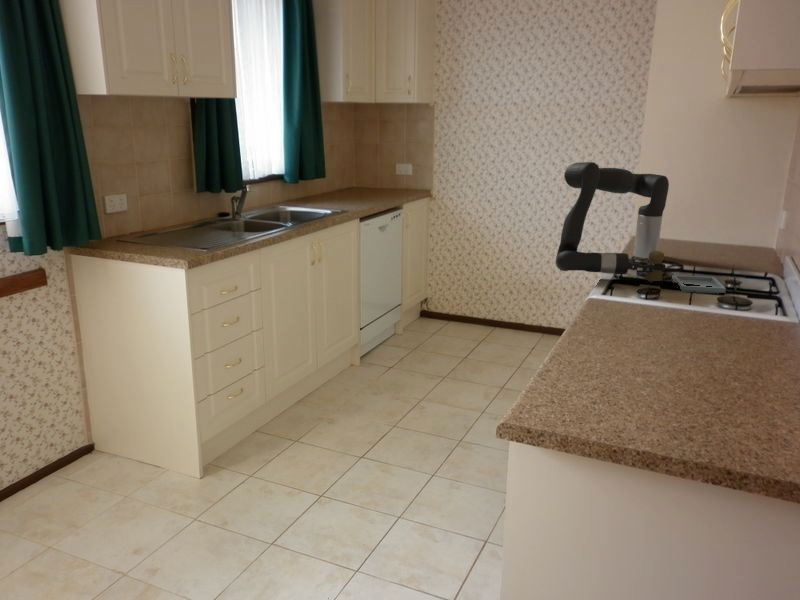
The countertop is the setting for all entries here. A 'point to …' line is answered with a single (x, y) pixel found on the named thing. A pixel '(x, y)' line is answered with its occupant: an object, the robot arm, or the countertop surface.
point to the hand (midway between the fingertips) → (663, 265)
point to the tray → (701, 281)
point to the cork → (655, 258)
